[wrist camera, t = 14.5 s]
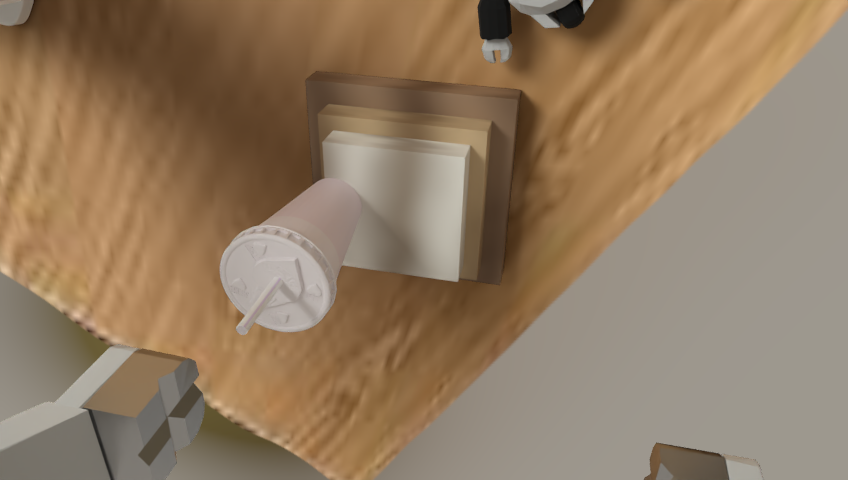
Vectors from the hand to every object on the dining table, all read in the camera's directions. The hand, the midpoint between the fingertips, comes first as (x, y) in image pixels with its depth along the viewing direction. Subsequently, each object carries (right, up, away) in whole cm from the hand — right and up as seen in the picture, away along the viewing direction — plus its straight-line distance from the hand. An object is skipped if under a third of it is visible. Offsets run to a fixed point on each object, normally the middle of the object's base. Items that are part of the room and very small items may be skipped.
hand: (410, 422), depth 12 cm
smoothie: (-6, +6, +32) cm, 33 cm away
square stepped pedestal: (0, +8, +36) cm, 37 cm away
